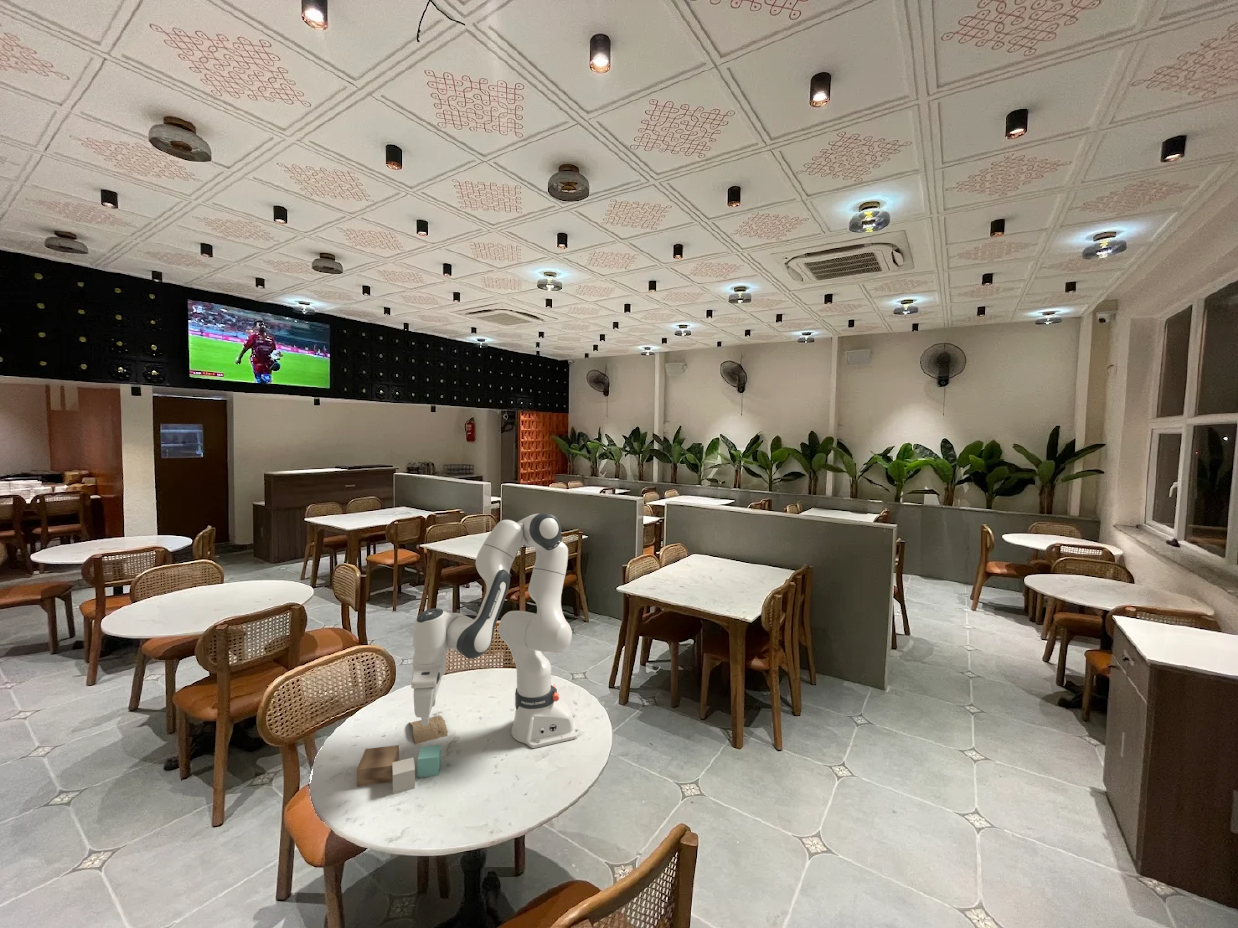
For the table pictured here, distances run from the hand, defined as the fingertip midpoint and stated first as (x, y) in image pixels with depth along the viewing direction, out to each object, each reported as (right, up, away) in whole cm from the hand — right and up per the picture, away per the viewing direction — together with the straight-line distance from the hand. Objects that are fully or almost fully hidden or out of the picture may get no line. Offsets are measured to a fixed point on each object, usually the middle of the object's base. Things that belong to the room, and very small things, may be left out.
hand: (428, 714), depth 140 cm
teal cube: (0, -17, +1) cm, 17 cm away
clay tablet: (-8, -16, +20) cm, 27 cm away
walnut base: (-14, -17, -1) cm, 22 cm away
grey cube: (-5, -17, -5) cm, 19 cm away
